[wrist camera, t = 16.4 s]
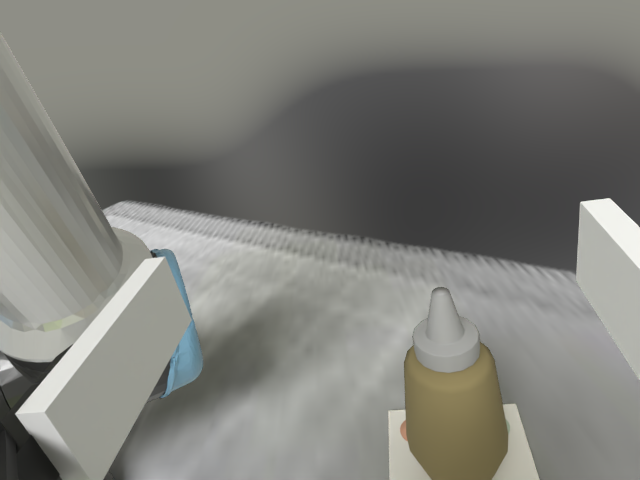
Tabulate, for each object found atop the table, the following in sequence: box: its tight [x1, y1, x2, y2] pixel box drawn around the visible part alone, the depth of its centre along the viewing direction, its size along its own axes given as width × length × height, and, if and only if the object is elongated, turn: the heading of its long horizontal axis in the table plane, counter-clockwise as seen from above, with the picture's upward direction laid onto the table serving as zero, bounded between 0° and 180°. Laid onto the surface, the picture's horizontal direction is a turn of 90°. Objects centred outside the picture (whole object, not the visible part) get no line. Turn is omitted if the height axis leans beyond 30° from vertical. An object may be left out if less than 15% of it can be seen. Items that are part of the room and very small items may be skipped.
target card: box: [388, 404, 540, 480], centre depth 40 cm, size 12×12×1 cm
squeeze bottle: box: [404, 287, 508, 480], centre depth 36 cm, size 8×8×18 cm
